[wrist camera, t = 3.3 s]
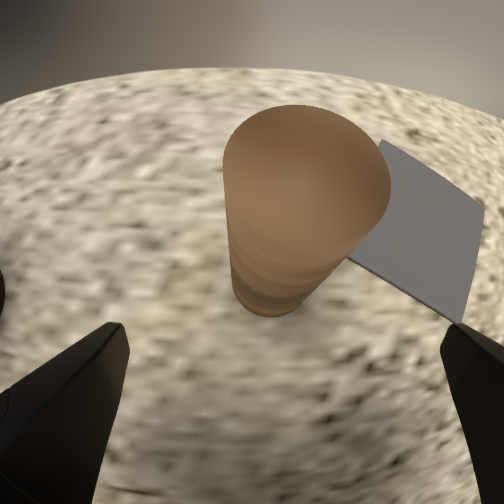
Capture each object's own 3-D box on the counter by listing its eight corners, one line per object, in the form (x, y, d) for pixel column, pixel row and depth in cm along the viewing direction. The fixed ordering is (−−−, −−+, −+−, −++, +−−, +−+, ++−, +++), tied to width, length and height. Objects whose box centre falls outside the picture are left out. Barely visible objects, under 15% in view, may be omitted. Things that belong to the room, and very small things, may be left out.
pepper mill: (285, 331, 19) (355, 281, 7) (217, 291, 20) (186, 188, 8) (320, 266, 21) (407, 152, 9) (256, 230, 21) (275, 86, 10)
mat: (457, 325, 20) (460, 325, 19) (330, 248, 21) (331, 246, 21) (482, 209, 23) (484, 208, 23) (381, 140, 25) (382, 138, 25)
